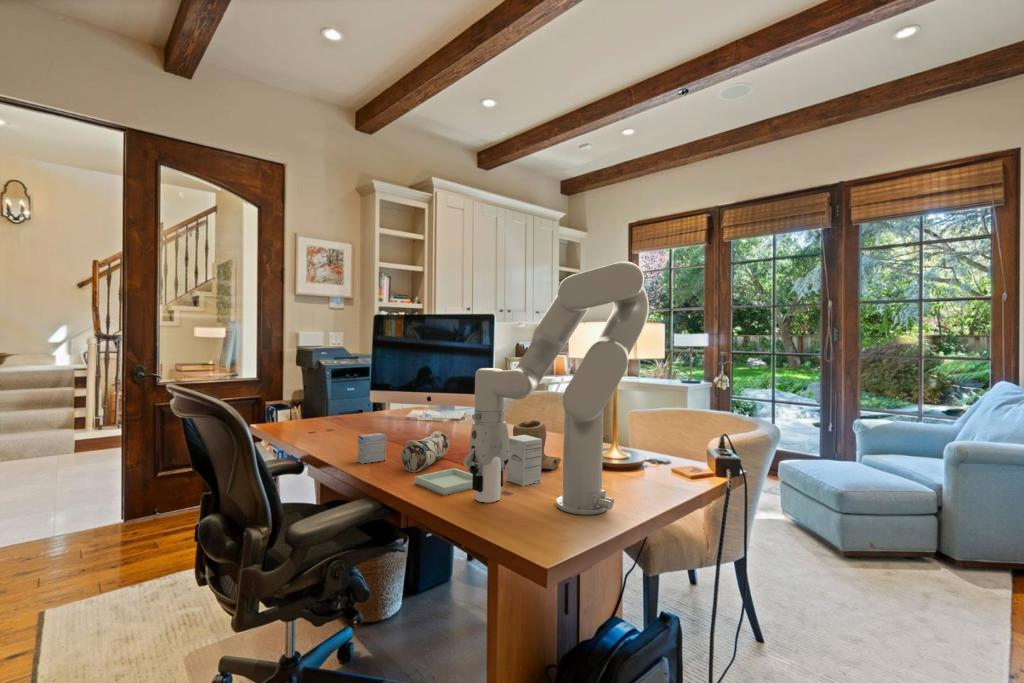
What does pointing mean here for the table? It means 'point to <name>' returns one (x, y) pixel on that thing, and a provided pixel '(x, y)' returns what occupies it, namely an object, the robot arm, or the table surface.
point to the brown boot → (538, 431)
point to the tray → (446, 481)
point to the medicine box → (371, 448)
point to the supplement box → (524, 460)
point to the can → (490, 482)
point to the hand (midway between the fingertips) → (487, 487)
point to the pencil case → (424, 451)
